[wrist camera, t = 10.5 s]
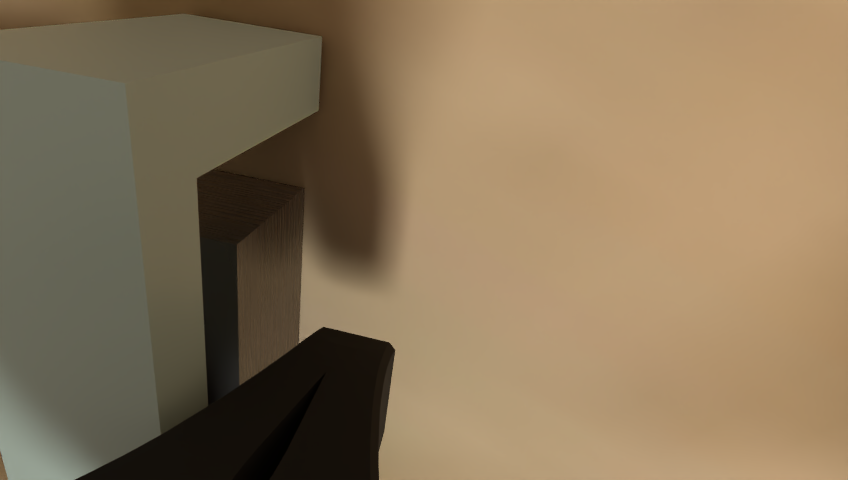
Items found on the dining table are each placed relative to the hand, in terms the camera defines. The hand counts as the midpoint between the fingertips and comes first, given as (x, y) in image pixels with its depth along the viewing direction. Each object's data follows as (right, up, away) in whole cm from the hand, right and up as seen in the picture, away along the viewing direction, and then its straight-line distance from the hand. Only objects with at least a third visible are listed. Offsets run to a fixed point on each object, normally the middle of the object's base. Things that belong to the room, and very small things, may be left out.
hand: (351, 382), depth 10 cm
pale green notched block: (-2, +1, +2) cm, 3 cm away
